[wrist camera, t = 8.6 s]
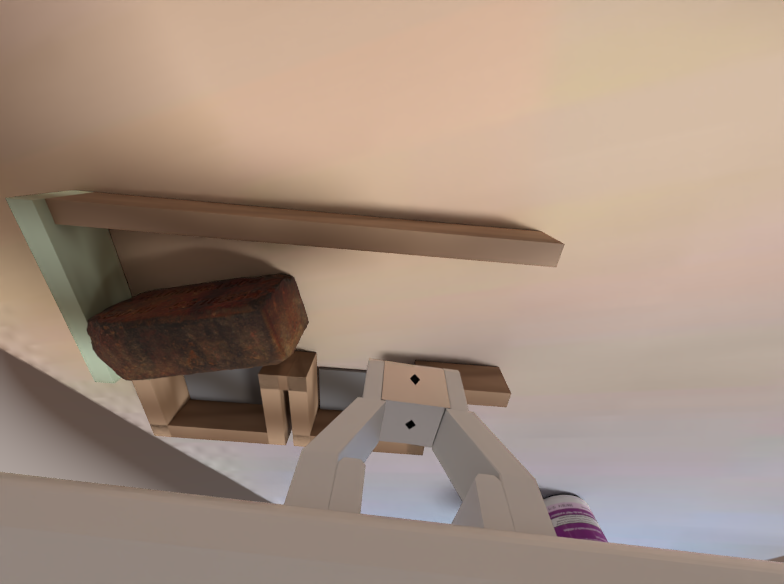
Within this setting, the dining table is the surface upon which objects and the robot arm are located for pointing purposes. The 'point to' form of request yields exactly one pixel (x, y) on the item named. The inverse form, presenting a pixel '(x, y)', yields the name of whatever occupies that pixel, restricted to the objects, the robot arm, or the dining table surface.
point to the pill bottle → (573, 518)
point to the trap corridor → (263, 383)
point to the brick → (201, 328)
